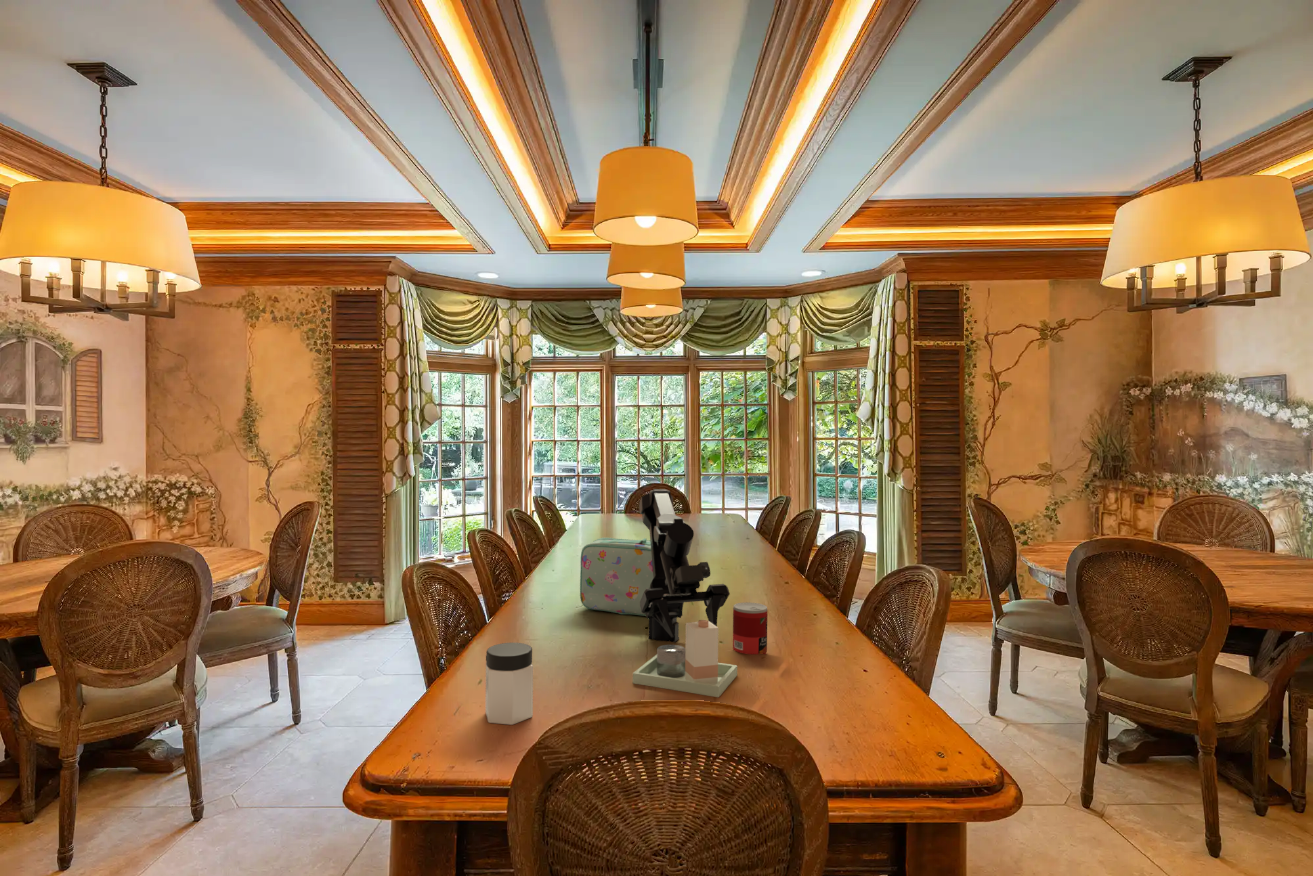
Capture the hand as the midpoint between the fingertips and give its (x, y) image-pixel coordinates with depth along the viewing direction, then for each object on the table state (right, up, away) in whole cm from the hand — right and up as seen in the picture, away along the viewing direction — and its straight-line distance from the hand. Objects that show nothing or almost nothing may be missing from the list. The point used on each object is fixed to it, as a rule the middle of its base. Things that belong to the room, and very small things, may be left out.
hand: (694, 634), depth 140 cm
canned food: (+14, -10, +19) cm, 26 cm away
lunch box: (-16, -10, +56) cm, 59 cm away
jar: (-34, -10, -17) cm, 40 cm away
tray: (-2, -10, -1) cm, 10 cm away
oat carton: (+1, -9, -4) cm, 10 cm away
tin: (-5, -9, +3) cm, 10 cm away
